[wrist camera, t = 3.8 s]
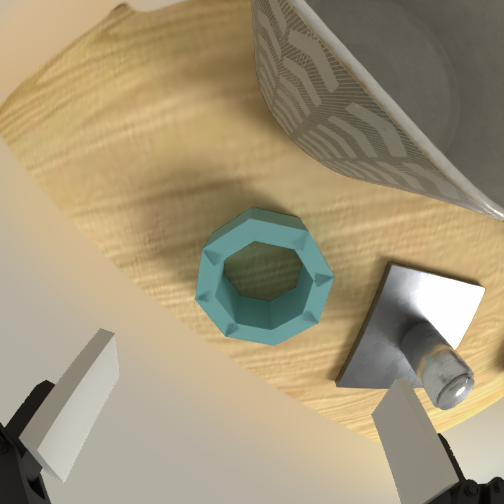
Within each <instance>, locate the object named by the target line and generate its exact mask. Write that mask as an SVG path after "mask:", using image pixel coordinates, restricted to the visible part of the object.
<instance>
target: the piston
mask: <svg viewBox="0 0 504 504" xmlns="http://www.w3.org/2000/svg"><path fill="white" fill-rule="evenodd" d="M484 291H485V288H484V287H483V286H482V285H479V284H475V283H471V282H467V281H464V280H460V279H456V278H452V277H449V276H445V275H441V274H437V273H433V272H429V271H425V270H421V269H418V268H414V267H410V266H406V265H402V264H397V263H393V262H389V261H388V263H387V266H386V269H385V272H384V274H383V277H382V280H381V282H380V285H379V288H378V290H377V293H376V295H375V298H374V300H373V303H372V305H371V307H370V310H369V312H368V315H367V317H366V319H365V321H364V324H363V326H362V328H361V330H360V333H359V335H358V337H357V339H356V341H355V343H354V345H353V348H352V350H351V352H350V354H349V356H348V358H347V360H346V362H345V364H344V366H343V368H342V369H341V371H340V373H339V375H338V377H337V379H336V381H335V383H336V387H344V388H371V389H389V388H390V387H391V385H392V384H393V382H394V381H395V379H408V381H409V383H410V384H411V386H412V388H424V389H425V391H426V393H427V394H428V396H429V398H430V400H431V401H432V403H433V405H434V406H435V407H440V409H442V410H448V409H450V408H452V407H454V406H456V405H457V404H459V403H460V402H461V401H463V400H464V399H465V398H466V397H467V395H468V394H469V393H470V392H471V390H472V388H473V386H474V379H473V377H474V373H473V371H472V370H471V369H470V367H469V366H468V365H467V364H466V362H465V361H464V360H463V359H462V357H461V356H460V355H459V354H458V353H457V351H456V350H455V349H456V348H457V346H458V344H459V342H460V340H461V339H462V337H463V335H464V333H465V331H466V329H467V327H468V325H469V323H470V321H471V319H472V317H473V315H474V313H475V311H476V309H477V307H478V305H479V302H480V300H481V298H482V295H483V293H484Z"/></svg>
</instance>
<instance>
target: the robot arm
mask: <svg viewBox="0 0 504 504" xmlns="http://www.w3.org/2000/svg"><path fill="white" fill-rule="evenodd" d="M119 376H120V375H119V368H118V359H117V350H116V339H115V333H112V332H110V331H106V330H104V329H99V331H98V332H97V333H96V334H95V335H94V337H93V338H92V339H91V340H90V342H89V343H88V344H87V345H86V346H85V348H84V349H83V350H82V352H81V353H80V354H79V355H78V356H77V358H76V359H75V360H74V362H73V363H72V364H71V365H70V367H69V368H68V369H67V371H66V372H65V373H64V374H63V376H62V377H61V378H60V380H59V381H58V382H57V384H56V385H55V384H53V383H51V382H49V381H48V380H45V381H43V382H42V383H40V384H38V385H36V387H35V388H34V389H33V390H32V392H31V393H30V395H29V396H28V397H27V398H26V399H25V401H24V403H22V405H21V406H20V408H19V409H18V410H17V412H16V413H15V414H14V416H13V417H12V419H11V420H10V421H9V423H8V424H7V426H6V427H5V428H4V427H3V425H2V424H1V423H0V504H51V502H50V499H49V497H48V494H47V491H46V488H45V485H44V483H43V479H42V476H41V474H40V471H41V470H42V468H43V469H44V470H45V471H46V472H47V473H48V474H49V475H51V476H53V477H55V478H56V479H58V480H60V481H62V482H64V483H65V480H66V478H67V476H68V474H69V472H70V470H71V468H72V466H73V464H74V462H75V460H76V457H77V455H78V453H79V451H80V449H81V447H82V445H83V443H84V441H85V440H86V438H87V436H88V434H89V431H90V430H91V428H92V426H93V424H94V422H95V420H96V418H97V417H98V415H99V413H100V411H101V409H102V407H103V405H104V404H105V402H106V400H107V398H108V396H109V394H110V393H111V391H112V389H113V387H114V386H115V384H116V382H117V380H118V378H119ZM371 415H372V417H373V420H374V423H375V425H376V428H377V431H378V434H379V436H380V439H381V442H382V445H383V448H384V451H385V454H386V457H387V460H388V463H389V466H390V468H391V472H392V475H393V478H394V481H395V484H396V487H397V491H398V494H399V497H400V500H401V504H504V480H503V479H502V478H501V477H494V478H493V479H492V480H491V481H490V482H488V483H486V484H477V483H476V482H475V481H474V480H470V479H468V480H466V479H465V477H464V476H463V473H462V471H461V469H460V467H459V465H458V463H457V461H456V459H455V456H453V452H452V450H450V446H449V444H448V442H447V440H446V439H445V438H444V437H443V436H442V435H441V434H440V433H438V434H437V433H436V431H435V429H434V427H433V425H432V423H431V421H430V419H429V417H428V415H427V413H426V412H425V410H424V408H423V406H422V404H421V402H420V400H419V399H418V397H417V395H416V393H415V391H414V390H413V388H412V386H411V384H410V383H409V381H408V379H395V381H394V382H393V384H392V385H391V387H390V388H389V390H388V392H387V393H386V394H385V396H384V397H383V399H382V400H381V402H380V403H379V405H378V406H377V407H376V409H375V410H374V411H373V413H372V414H371Z"/></svg>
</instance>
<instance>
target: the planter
mask: <svg viewBox="0 0 504 504" xmlns="http://www.w3.org/2000/svg"><path fill="white" fill-rule="evenodd" d="M251 10H252V22H253V36H254V49H255V63H256V73H257V78H258V83H259V86H260V89H261V92H262V95H263V97H264V99H265V102H266V104H267V106H268V108H269V110H270V111H271V113H272V115H273V116H274V118H275V119H276V121H277V122H278V124H279V125H280V126H281V128H282V129H283V130H284V131H285V133H286V134H287V135H288V136H289V137H290V138H291V139H292V140H293V141H294V143H296V144H297V145H298V146H299V147H300V148H301V149H302V150H303V151H304V152H306V153H307V154H308V155H310V156H311V157H312V158H313V159H315V160H317V161H318V162H320V163H321V164H323V165H324V166H326V167H328V168H330V169H332V170H333V171H335V172H338V173H340V174H342V175H345V176H347V177H350V178H353V179H356V180H361V181H365V182H369V183H374V184H379V185H383V186H387V187H391V188H396V189H400V190H404V191H408V192H411V193H415V194H419V195H423V196H426V197H430V198H434V199H437V200H440V201H444V202H447V203H450V204H454V205H457V206H460V207H463V208H466V209H469V210H472V211H475V212H478V213H481V214H484V215H487V216H490V217H492V218H495V219H498V220H500V221H503V222H504V0H251Z"/></svg>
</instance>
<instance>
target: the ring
mask: <svg viewBox="0 0 504 504" xmlns="http://www.w3.org/2000/svg"><path fill="white" fill-rule="evenodd" d="M253 241H257V242H262V243H267V244H272V245H276V246H281V247H285V248H290V249H295V251H296V253H297V254H298V256H299V257H300V259H301V261H302V262H303V264H302V268H301V271H300V275H299V278H298V282H297V285H296V287H295V288H293V289H291V290H289V291H288V292H286V293H284V294H282V295H281V296H279V297H277V298H275V299H273V300H272V301H266V300H261V299H256V298H251V297H246V296H241V295H240V294H239V293H238V291H237V290H236V289H235V287H234V286H233V285H232V283H231V282H230V281H229V279H228V278H227V276H226V275H225V274H224V272H223V270H224V265H225V259H226V258H227V257H229V256H231V255H232V254H234V253H235V252H237V251H239V250H240V249H242V248H244V247H245V246H247V245H248V244H250V243H252V242H253ZM333 280H334V275H333V273H332V272H331V270H330V268H329V266H328V265H327V263H326V261H325V259H324V257H323V256H322V254H321V252H320V251H319V249H318V247H317V245H316V244H315V242H314V240H313V239H312V237H311V235H310V233H309V231H308V230H307V228H306V227H305V225H304V224H303V222H302V221H301V220H300V218H298V217H294V216H290V215H285V214H281V213H276V212H272V211H267V210H263V209H258V208H254V207H252V208H250V209H249V210H247V211H246V212H244V213H243V214H241V215H240V216H238V217H236V218H235V219H233V220H232V221H230V222H229V223H227V224H226V225H224V226H223V227H221V228H219V229H218V230H216V231H215V232H213V234H212V235H211V237H210V238H209V240H208V241H207V243H206V244H205V246H204V247H203V249H202V254H201V260H200V267H199V274H198V280H197V288H196V295H195V300H196V301H197V302H198V304H199V305H200V306H201V307H202V309H203V310H204V311H205V312H206V314H207V315H208V316H209V317H210V318H211V320H212V321H213V322H214V323H215V325H216V326H217V327H218V328H219V329H220V331H221V332H222V333H223V334H224V335H225V336H226V337H231V338H236V339H241V340H246V341H251V342H257V343H262V344H268V345H274V346H275V345H277V344H279V343H281V342H283V341H285V340H287V339H289V338H290V337H292V336H294V335H296V334H298V333H300V332H302V331H304V330H306V329H308V328H310V327H311V326H313V325H315V324H317V323H318V322H319V319H320V316H321V314H322V311H323V308H324V305H325V303H326V300H327V297H328V294H329V291H330V288H331V286H332V283H333Z"/></svg>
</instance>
